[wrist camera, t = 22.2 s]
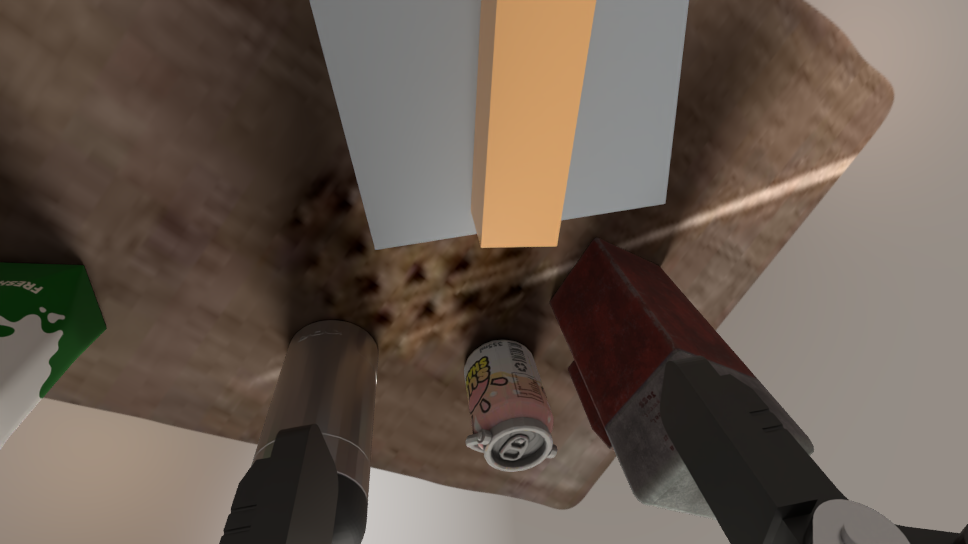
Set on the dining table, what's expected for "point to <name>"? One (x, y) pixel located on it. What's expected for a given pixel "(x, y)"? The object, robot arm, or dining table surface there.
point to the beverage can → (508, 407)
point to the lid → (452, 107)
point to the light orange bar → (526, 116)
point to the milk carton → (41, 332)
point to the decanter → (641, 366)
